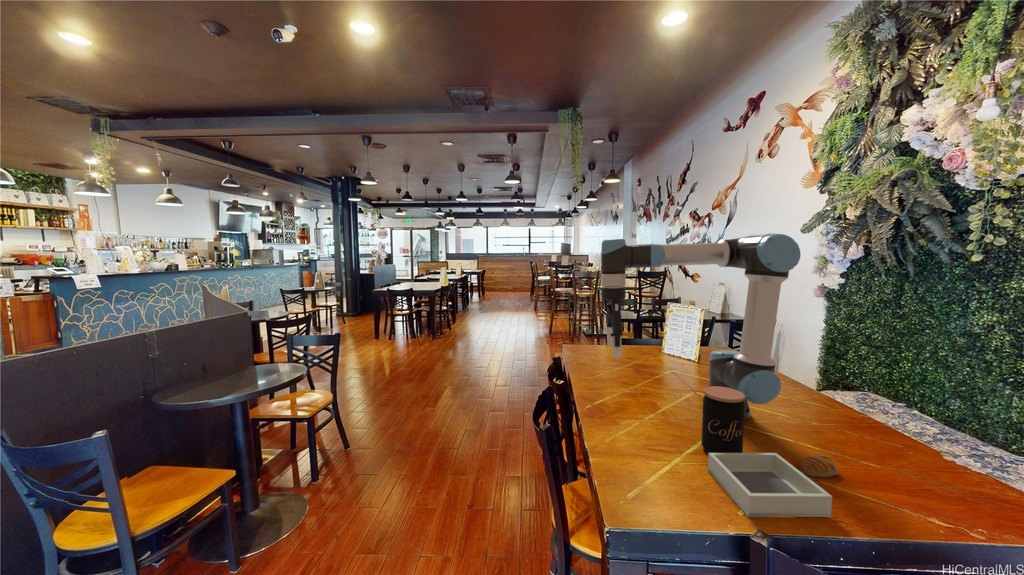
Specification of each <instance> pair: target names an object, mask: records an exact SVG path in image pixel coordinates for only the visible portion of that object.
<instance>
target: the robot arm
mask: <svg viewBox="0 0 1024 575" xmlns="http://www.w3.org/2000/svg"><path fill="white" fill-rule="evenodd" d="M800 249H801V248H800V246H799V244H798V243H797V241H795V239H794V238H792V237H791V236H789V235H787V234H782V233H767V234H759V235H758V234H756V235H748V236H742V237H737V238H730V239H720V240H718V242H717V241H716V242H707V243H706V242H701V243H700V242H699V243H697V242H696V243H673V244H670V243H669V244H665V243H664V244H661V243H660V244H659V243H658V244H657V243H646V244H645V243H644V244H643V243H642V244H627V243H626V239H624V238H610V239H604V240H602V242H601V250H600V251H601V252H600V255H601V257H600V258H601V259H600V260H601V276H599V280H601V286H602V288H601V299H603V300H606V321H605V325H606V346H607V347H612V348H611V349H612V350H611V351H612V352H611V355H612V357H613V358H614V357H615V358H616V357H618V358H620V357H621V358H622V336H623V335H624V333H623V324H622V309H621V308H622V305H621V303H619V300H625V299H626V295H627V294H626V290H627V289H626V288H625V287H626V286H627V285H626V281H627V279H626V278H627V276H626V275H627V274H626V269H631V268H632V269H637V268H639V269H643V268H644V269H645V268H646V269H647V268H648V269H649V268H651V269H652V268H653V269H654V268H660V267H663V266H664V267H665V266H695V265H696V266H700V265H701V266H703V265H705V266H706V265H717V266H719V267H720V268H737V269H743V270H744V276H745V278H747V280H748V287H747V295H746V303H745V310H744V315H743V316H744V317H743V325H742V331H741V339H740V345H739V346H740V347H739V351H738V350H728V349H727V350H726V349H725V350H724V349H723V350H722V349H719V350H713V351H711V352H710V354H709V359H708V360H709V369H708V370H709V372H708V373H709V374H708V387H711V386H719V387H727V388H731V389H735V390H738V391H740V392H742V393H743V394H744V395H745V400H744V401H743V402H744V405H745V408H744V422H745V421H747V420H749V419H750V418H751V408H750V405H749V403H752V404H755V405H764V404H767V403H770V402H771V401H774V400H776V398H777V397H778V396H779V395H780V393H781V390H782V382H781V381H782V380H781V379H780V377H779V376H778V375H777V374H776V373H775V371H776V364H777V363H776V362H775V361H774V359H773V358H772V350H773V344H774V337H775V336H774V335H775V331H776V330H775V329H776V323H777V315H778V309H779V302H780V301H779V300H780V296H781V295H780V294H781V288H782V283H784V282H785V281H786V280H787V279H789V274H790V271H791V270H793V269H794V268H795V267H797V265H799V263H800V261H801V260H800V259H801V250H800ZM748 402H749V403H748Z"/></svg>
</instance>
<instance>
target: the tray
mask: <svg viewBox="0 0 1024 575" xmlns="http://www.w3.org/2000/svg"><path fill="white" fill-rule="evenodd" d="M707 456H708V457H707V472H709V474H710V473H711V474H710V475H711V476H712V477H713V478H714V480H715V481H716V482H717V483H718V484H719V485H720V486H721V488H722V489H723V490H724V491H725V492H726V493H727V494H728V496H729V497H730V498H731V499H732V501H734V502H735V503H737V504H736V505H737V506H738V508H740V509H741V511H742V512H743V511H744V512H743V513H744V514H745V515H746V516H747V517H748V518H767V517H766V516H794V517H793V518H795V516H797V517H826V518H827V517H829V518H827V519H830V518H832V505H833V495H831V494H830V493H829V492H827V491H826V490H825V489H824V488H823V487H821V486H820V485H818V484H817V483H816V482H815V481H813V480H812V479H810V478H809V477H808V475H806V474H804V473H802V472H800V471H799V469H798V468H796V467H795V466H794V465H793V464H791V463H790V461H789V462H788V460H786V459H785V458H783V456H781V455H779V453H777V452H743V453H707Z"/></svg>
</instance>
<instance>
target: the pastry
mask: <svg viewBox="0 0 1024 575" xmlns="http://www.w3.org/2000/svg"><path fill="white" fill-rule="evenodd" d="M797 469H798V470H799V471H800V472H801V473H803V474H804V475H805V476H809V477H812V478H823V477H826V478H829V477H833V475H834V476H836V475H838V474H839V473H840V470H839V468H838V466H837V465H836V462H835V461H834V460H833V459H832V458H830V456H827V455H824V454H823V455H821V454H815V455H808V456H805V457H804V458H803V459H801V461H800V462H799V464H797ZM828 476H829V477H828Z"/></svg>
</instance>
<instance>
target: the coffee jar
mask: <svg viewBox="0 0 1024 575" xmlns="http://www.w3.org/2000/svg"><path fill="white" fill-rule="evenodd" d="M702 392H703V394H704V395H703V398H702V417H701V419H702V421H701V422H702V424H701V425H702V426H701V446H702V447H703V450H704V451H705V452H706V453H707V454H708V453H744V452H743V450H744V430H745V424H744V423H745V421H744V408H745V405H744V402H743V401H744V400H745V395H744V394H743V393H742V392H740V391H738V390H735V389H731V388H727V387H719V386H711V387H709V386H707V387H705V388H703V390H702Z"/></svg>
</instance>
